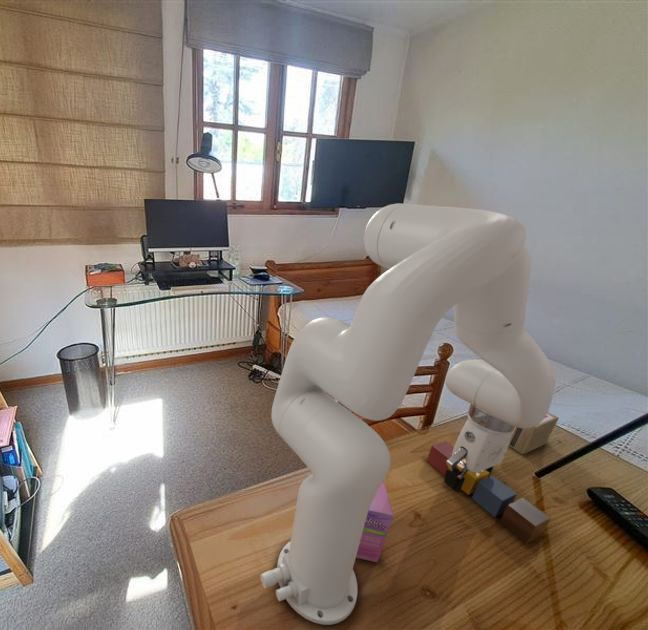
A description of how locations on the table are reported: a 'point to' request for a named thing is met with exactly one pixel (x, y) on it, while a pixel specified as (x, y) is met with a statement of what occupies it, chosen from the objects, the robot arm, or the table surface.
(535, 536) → the cube
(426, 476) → the table surface
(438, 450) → the cube
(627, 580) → the table surface
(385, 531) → the box
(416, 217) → the robot arm
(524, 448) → the ink box
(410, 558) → the table surface
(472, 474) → the letter block
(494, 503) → the cube
